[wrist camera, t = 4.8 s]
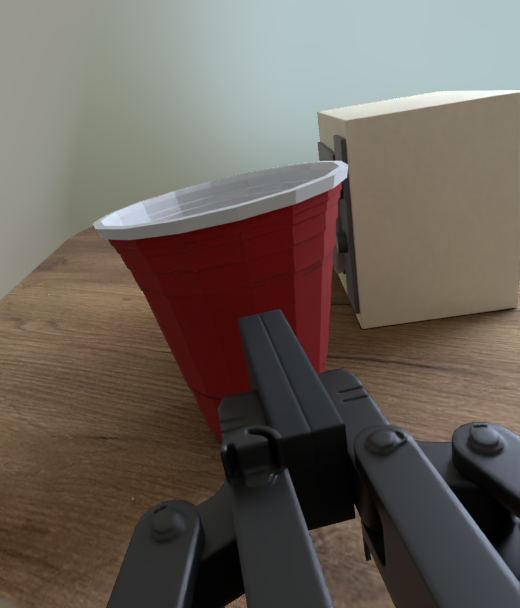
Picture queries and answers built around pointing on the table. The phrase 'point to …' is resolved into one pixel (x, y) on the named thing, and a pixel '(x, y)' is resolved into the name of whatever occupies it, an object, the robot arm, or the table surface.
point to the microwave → (427, 204)
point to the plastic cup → (234, 267)
